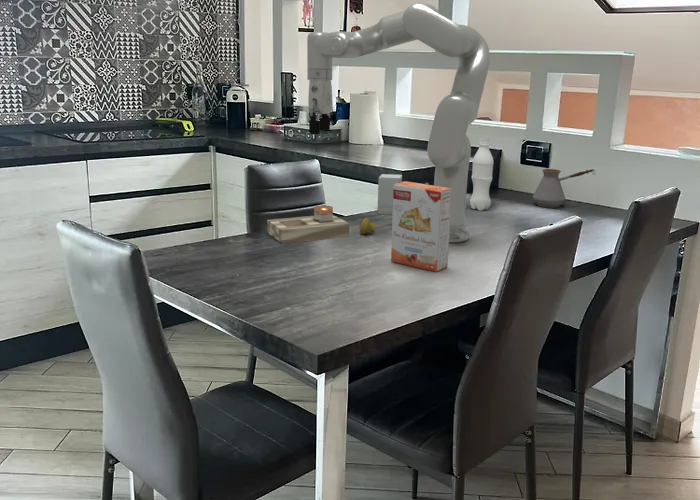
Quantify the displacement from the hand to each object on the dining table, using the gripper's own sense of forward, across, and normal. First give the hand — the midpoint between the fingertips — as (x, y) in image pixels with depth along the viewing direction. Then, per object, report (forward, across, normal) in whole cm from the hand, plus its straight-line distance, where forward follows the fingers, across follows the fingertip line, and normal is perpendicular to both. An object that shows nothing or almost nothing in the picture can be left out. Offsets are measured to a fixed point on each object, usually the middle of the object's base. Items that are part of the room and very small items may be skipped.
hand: (319, 132), depth 210 cm
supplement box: (+29, +22, -18) cm, 40 cm away
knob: (+29, -9, -18) cm, 35 cm away
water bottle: (+29, +37, -47) cm, 67 cm away
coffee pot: (+29, +50, -74) cm, 94 cm away
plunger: (+25, -12, -5) cm, 29 cm away
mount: (+29, -16, -2) cm, 33 cm away
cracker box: (+29, -34, -39) cm, 59 cm away
